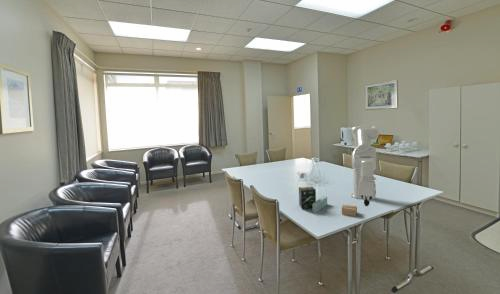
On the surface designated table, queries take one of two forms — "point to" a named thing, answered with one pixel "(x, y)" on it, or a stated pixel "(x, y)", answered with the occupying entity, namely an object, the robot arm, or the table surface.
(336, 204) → the table surface
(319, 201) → the board
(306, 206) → the tampon box
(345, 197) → the table surface
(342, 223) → the table surface
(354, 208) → the block
